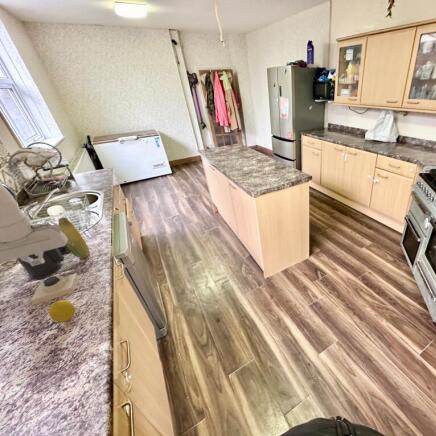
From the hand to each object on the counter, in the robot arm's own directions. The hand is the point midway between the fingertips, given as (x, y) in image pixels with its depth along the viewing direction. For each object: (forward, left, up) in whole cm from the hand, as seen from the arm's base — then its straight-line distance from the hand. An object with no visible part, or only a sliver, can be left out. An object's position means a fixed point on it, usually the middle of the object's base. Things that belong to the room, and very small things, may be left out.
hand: (38, 263), depth 80 cm
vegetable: (+5, +19, -13) cm, 23 cm away
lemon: (+7, -19, -13) cm, 24 cm away
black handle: (-5, +31, -13) cm, 34 cm away
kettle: (-7, +16, -13) cm, 22 cm away
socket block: (0, 0, -13) cm, 13 cm away
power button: (0, 0, -9) cm, 9 cm away
